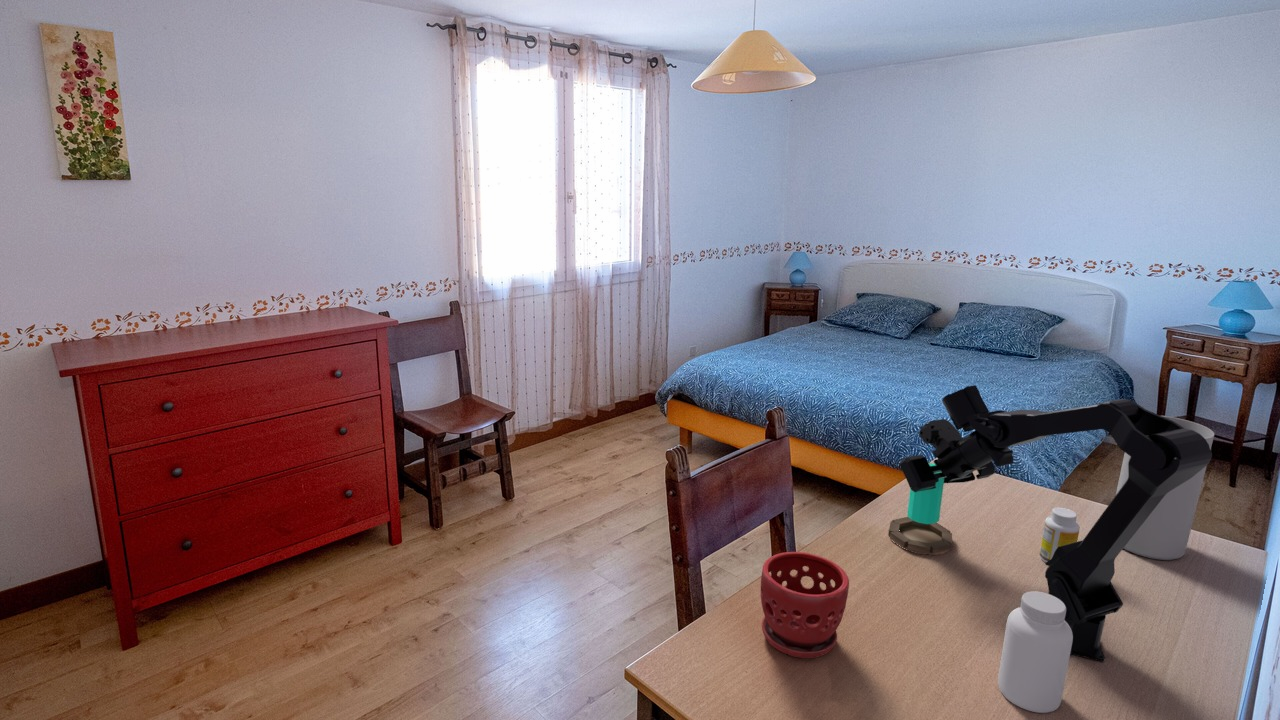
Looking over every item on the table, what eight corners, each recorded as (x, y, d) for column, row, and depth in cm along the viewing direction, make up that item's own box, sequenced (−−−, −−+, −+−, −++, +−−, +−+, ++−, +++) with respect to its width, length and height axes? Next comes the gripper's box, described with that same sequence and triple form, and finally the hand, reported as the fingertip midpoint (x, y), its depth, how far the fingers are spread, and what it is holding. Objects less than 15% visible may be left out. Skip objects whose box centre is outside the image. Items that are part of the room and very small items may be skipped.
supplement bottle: (1077, 562, 131) (1087, 513, 128) (1065, 572, 128) (1075, 522, 125) (1045, 549, 135) (1054, 502, 132) (1033, 559, 132) (1042, 511, 129)
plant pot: (840, 675, 102) (847, 604, 99) (751, 655, 106) (755, 586, 103) (845, 621, 114) (851, 557, 110) (764, 605, 118) (768, 542, 115)
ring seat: (951, 560, 131) (953, 553, 131) (885, 546, 136) (886, 539, 136) (952, 531, 142) (953, 524, 142) (890, 519, 147) (891, 512, 146)
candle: (902, 518, 137) (909, 461, 134) (912, 506, 141) (918, 452, 138) (934, 527, 133) (941, 469, 130) (942, 515, 138) (950, 459, 135)
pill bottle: (1003, 666, 104) (1018, 578, 100) (1064, 691, 99) (1083, 600, 95) (989, 696, 98) (1005, 604, 94) (1054, 724, 93) (1074, 628, 89)
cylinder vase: (1188, 568, 129) (1219, 444, 122) (1108, 549, 135) (1133, 430, 128) (1180, 539, 139) (1208, 422, 132) (1106, 522, 146) (1129, 410, 139)
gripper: (990, 405, 131) (939, 439, 144) (912, 418, 124) (866, 452, 137) (1020, 459, 126) (965, 490, 139) (940, 475, 119) (890, 506, 132)
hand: (921, 483), depth 137 cm, fingers closed on candle, 5 cm apart
